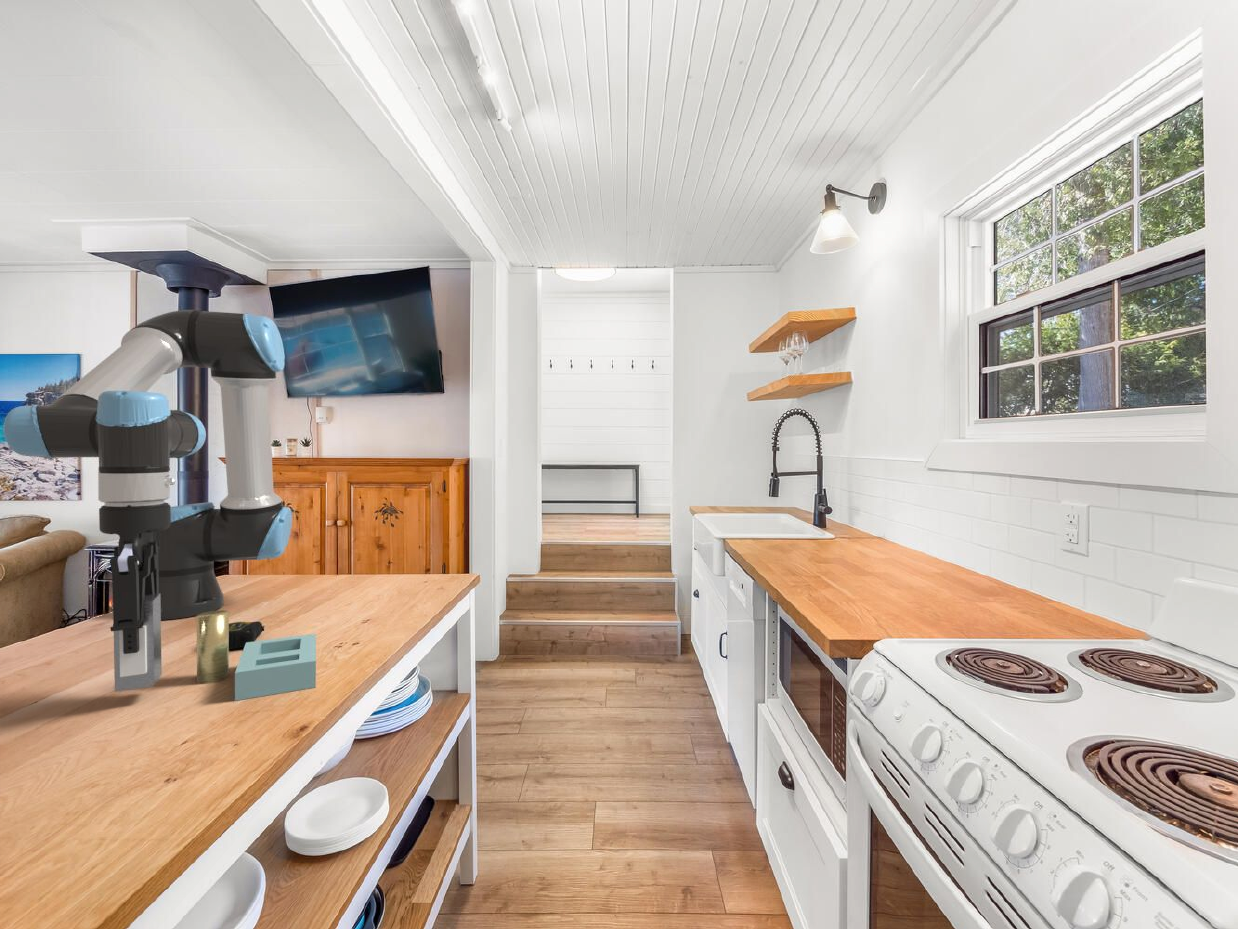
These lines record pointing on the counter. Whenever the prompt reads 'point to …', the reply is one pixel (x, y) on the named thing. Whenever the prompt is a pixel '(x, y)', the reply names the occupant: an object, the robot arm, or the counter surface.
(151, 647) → the square bit
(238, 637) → the tape measure
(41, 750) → the counter surface
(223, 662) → the round bit
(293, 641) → the socket block
